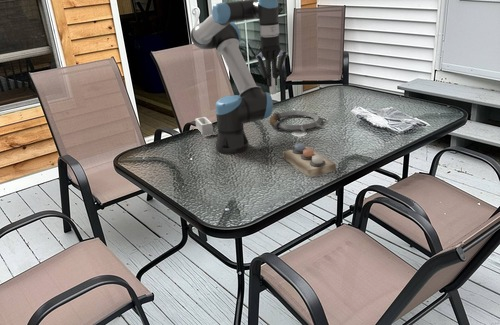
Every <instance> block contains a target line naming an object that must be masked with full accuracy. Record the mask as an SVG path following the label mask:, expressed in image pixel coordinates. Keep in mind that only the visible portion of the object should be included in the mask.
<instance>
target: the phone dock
mask: <svg viewBox="0 0 500 325" xmlns="http://www.w3.org/2000/svg"><path fill="white" fill-rule="evenodd" d="M194 120H195V128H196V129H198V130H199V131H200V132H201V134H202V135H207V134H213V131H214V129H213V122H211V120H209V119H208V117H206V116H202V117H197V118H194Z"/></svg>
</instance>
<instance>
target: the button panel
mask: <svg viewBox="0 0 500 325" xmlns="http://www.w3.org/2000/svg"><path fill="white" fill-rule="evenodd" d="M305 149H313V150H314V155H322V156H323V163H321V164H314V163H312V157H309V158H307V157H304V156H303V151H295V147H294V148H293V149H287V150H284V151H283V153H282V154H283V159H284V160H285V161H287V162H288V163H290V164H291V165H292V166H293V167H294V168H296V169H297V170H298V171H300V172H301V173H302V174H303V175H305V176H306V177H308V178H312V177H316V176H320V175H324V173H325V174H328V172H329V173H332V171H333V172H336V171H335V170H337V164H336V163H335V162H333V161H332V160H330V159H329V158H328V157H326V156H325V155H323V154H322V153H320V152H318V151H317V150H315V149H314V148H312V147H311V146H310V145H305Z"/></svg>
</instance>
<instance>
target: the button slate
mask: <svg viewBox="0 0 500 325" xmlns="http://www.w3.org/2000/svg"><path fill="white" fill-rule="evenodd" d="M305 147H306V144H305V143H303V142H298V143H297V142H296V143H295V144H294V148H295V151H303V150H304V149H305Z"/></svg>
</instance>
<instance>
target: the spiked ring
mask: <svg viewBox="0 0 500 325" xmlns="http://www.w3.org/2000/svg"><path fill="white" fill-rule="evenodd" d="M290 116H296V117H298V116H306V117H305V118H307V117H311V118H310V119H312V118H313V119H312V120H314V119H315V120H314V121H313V122H311V123H305V124H287V123H286V124H285V123H283V122H282V121H281V119H283V118H291V117H290ZM277 120H279V121H277ZM323 120H325V121H328V119H327V118H322V117H320V116H318V113H317V112H309V111H304V110H290V111H289V110H288V111H282V112H276V111H275V112H274V113H273V114H272V115H270V116H269V121H268V122H269V123H270V126H272V127H273V128H274V130H276V131H280V130H282V131H287V132H305V131H308V130H307V129H310V130H312V129H311V128H313V129H315V128H314V127H319V128H324V126H323V125H321V124H322V122H324V121H323ZM279 129H280V130H279Z"/></svg>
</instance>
